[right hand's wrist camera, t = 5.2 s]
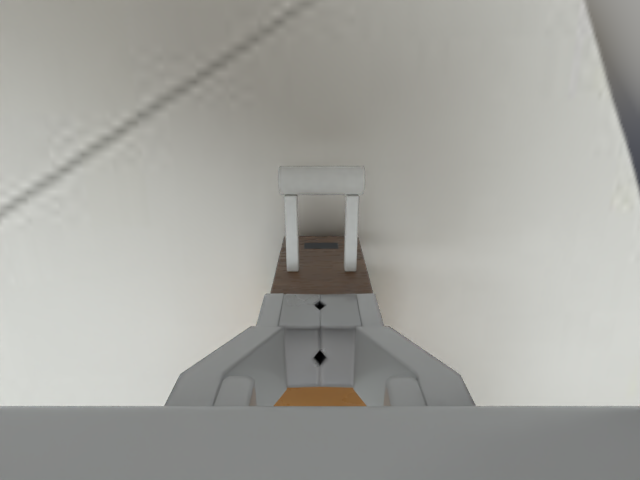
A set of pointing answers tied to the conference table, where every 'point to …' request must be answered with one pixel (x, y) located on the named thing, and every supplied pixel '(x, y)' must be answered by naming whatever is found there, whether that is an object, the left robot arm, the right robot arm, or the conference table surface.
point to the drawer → (321, 251)
